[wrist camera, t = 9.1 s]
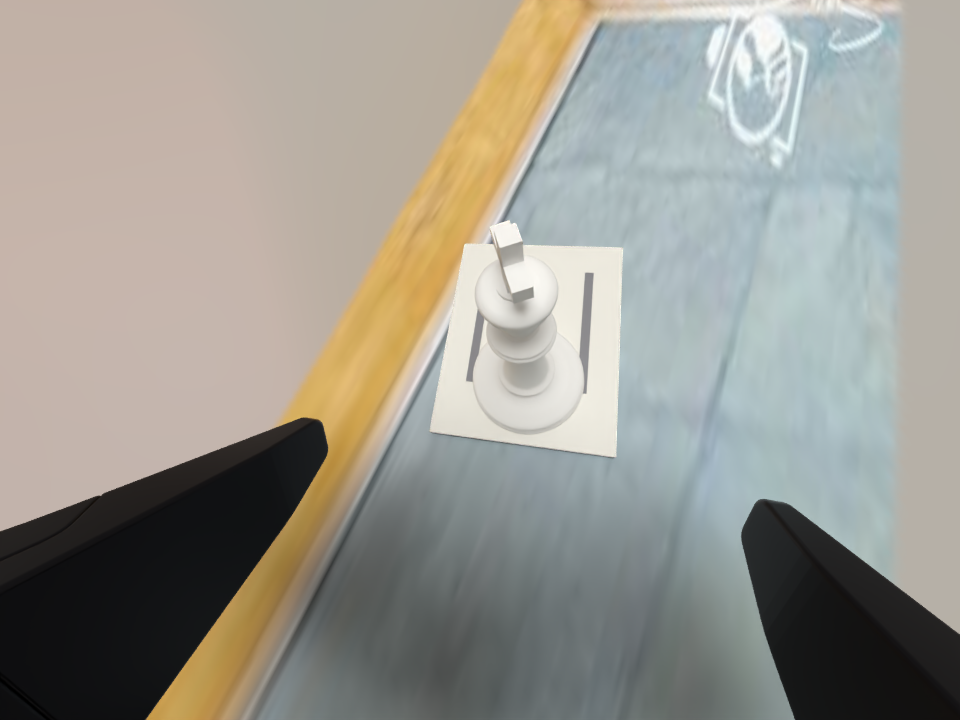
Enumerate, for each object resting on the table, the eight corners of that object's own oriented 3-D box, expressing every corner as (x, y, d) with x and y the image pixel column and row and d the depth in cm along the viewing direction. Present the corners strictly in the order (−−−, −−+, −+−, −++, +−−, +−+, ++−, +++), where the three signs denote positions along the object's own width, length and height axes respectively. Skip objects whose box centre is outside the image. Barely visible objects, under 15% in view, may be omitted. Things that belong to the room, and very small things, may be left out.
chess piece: (562, 315, 17) (589, 104, 7) (600, 415, 15) (701, 308, 6) (462, 346, 17) (366, 181, 8) (489, 447, 15) (406, 397, 6)
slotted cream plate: (614, 457, 15) (616, 457, 14) (431, 432, 16) (428, 431, 16) (621, 252, 18) (623, 247, 17) (466, 248, 19) (464, 243, 19)
